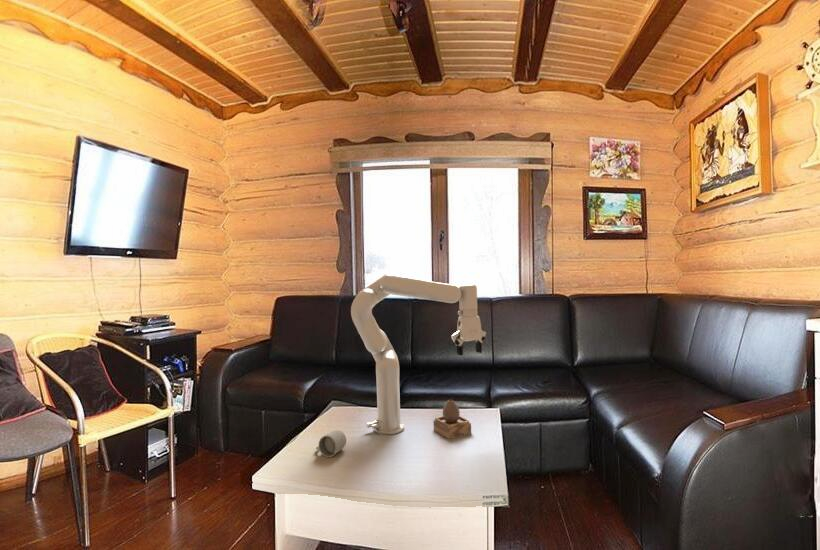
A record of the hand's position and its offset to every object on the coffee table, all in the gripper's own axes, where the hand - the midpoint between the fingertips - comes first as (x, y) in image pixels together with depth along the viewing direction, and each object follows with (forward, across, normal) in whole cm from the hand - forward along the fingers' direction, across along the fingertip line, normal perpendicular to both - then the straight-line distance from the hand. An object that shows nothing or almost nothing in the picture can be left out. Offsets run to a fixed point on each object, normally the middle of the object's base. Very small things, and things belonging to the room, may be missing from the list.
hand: (469, 353), depth 173 cm
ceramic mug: (+31, -60, +5) cm, 68 cm away
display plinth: (+30, -11, -2) cm, 32 cm away
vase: (+26, -11, -2) cm, 29 cm away
